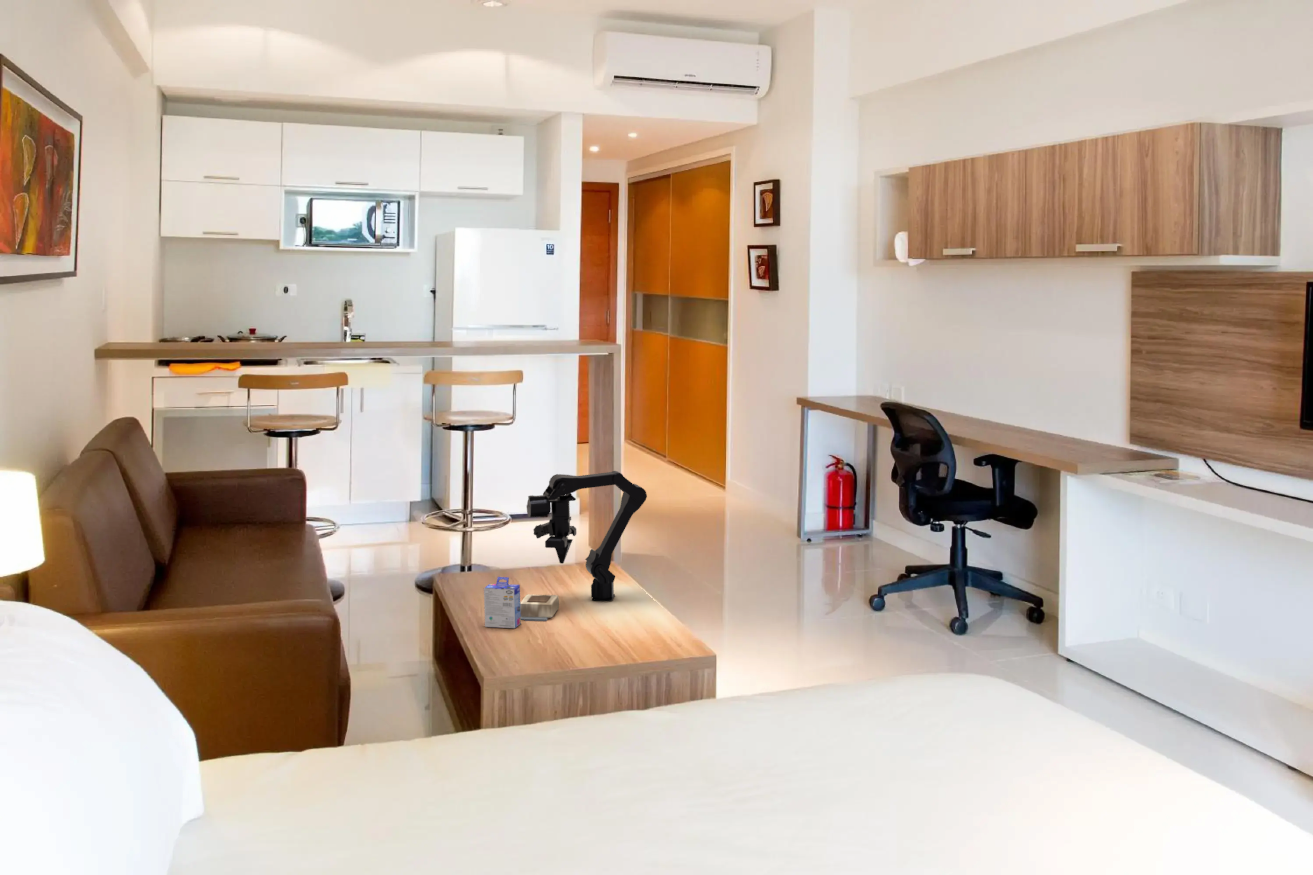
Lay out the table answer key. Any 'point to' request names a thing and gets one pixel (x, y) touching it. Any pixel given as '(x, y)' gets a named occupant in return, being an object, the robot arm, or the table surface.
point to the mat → (534, 618)
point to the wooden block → (539, 605)
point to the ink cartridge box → (502, 604)
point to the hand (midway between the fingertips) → (561, 563)
